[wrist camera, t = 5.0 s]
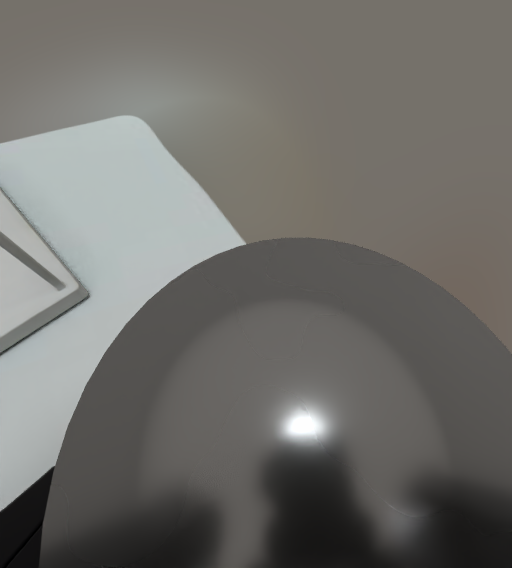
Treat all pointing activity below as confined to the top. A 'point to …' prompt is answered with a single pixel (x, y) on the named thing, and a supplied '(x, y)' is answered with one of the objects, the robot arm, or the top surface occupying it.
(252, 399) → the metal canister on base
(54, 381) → the top surface
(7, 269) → the file sorter
